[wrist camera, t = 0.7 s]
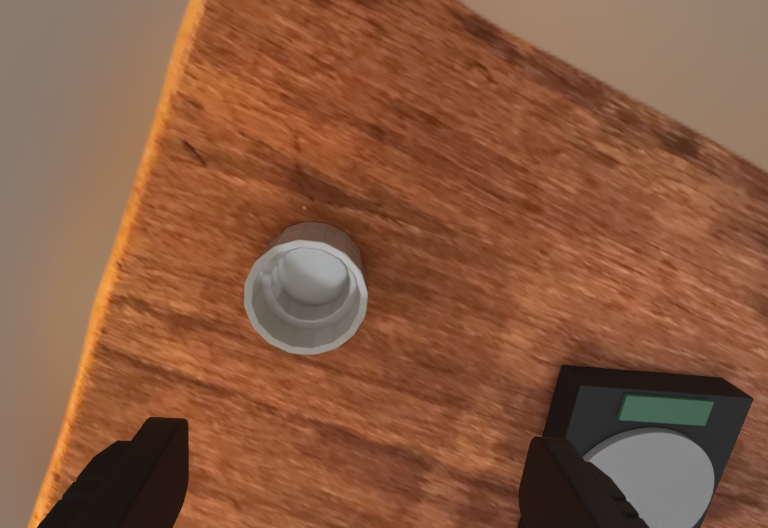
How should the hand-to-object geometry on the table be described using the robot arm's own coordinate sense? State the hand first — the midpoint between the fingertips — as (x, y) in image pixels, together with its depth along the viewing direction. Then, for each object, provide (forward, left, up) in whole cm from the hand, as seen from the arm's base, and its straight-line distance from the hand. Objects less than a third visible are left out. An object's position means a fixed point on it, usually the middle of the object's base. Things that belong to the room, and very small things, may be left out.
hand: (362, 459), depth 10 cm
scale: (+13, +21, -17) cm, 30 cm away
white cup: (+1, -2, -17) cm, 17 cm away
